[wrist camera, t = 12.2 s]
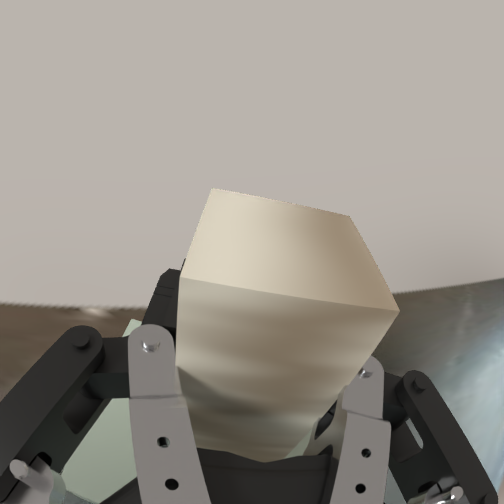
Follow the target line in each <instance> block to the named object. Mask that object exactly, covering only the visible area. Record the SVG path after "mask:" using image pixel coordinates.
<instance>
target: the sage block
mask: <svg viewBox="0 0 504 504" xmlns="http://www.w3.org/2000/svg"><path fill="white" fill-rule="evenodd" d="M141 324H142V322H141V321H137V320H134V319H131V321H130V323H129V325H128V327H127V329H126V331H125V333H124V335H123V336H122V337H124V336H128V335H130V333H131V332H132V331H133V330H134V329H135V328H137V327H139V326H141ZM312 429H313V428H312ZM312 429H311V430H310V432H309V433H308V434H307V435H306V436H305V437H304V438H303V439H302V440H301V441H300V442H299V443H298V444H297V446H296V447H295V448H294V449H293V450H292V451H291V452H290V453H289V454H288V455H287V456H286V457H285V458H284V459H286V458H290V457H295V456H302V455H303V453H304V451H305V449H306V448H307V446H308V443H309V440H310V437H311V433H312ZM61 477H62V478H63V480H64V482H65V486H66V490H67V491H69V492H70V493H72V494H74V495H76V496H77V497H79V498H81V499H84V500H86V501H88V502H91V503H93V504H99V503H101V502H102V501H104V500H105V499H106V498H108V497H109V496H111V495H112V494H114V493H115V492H116V491H118V490H119V489H121V488H122V487H123V486H125V485H126V484H127V483H129V482H130V481H131V480H133V479H134V478H135V477H137V472H136V465H135V458H134V451H133V443H132V434H131V424H130V413H129V398H117V399H112V400H111V401H110V403H109V404H108V405H107V407H106V408H105V409H104V411H103V412H102V414H101V415H100V416H99V418H98V419H97V421H96V422H95V423H94V425H93V426H92V428H91V429H90V430H89V432H88V433H87V435H86V436H85V437H84V439H83V440H82V442H81V443H80V444H79V446H78V447H77V449H76V450H75V452H74V453H73V454H72V456H71V457H70V459H69V460H68V462H67V463H66V464H65V467H64V469H63V472H62V475H61Z"/></svg>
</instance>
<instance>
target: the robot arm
mask: <svg viewBox="0 0 504 504" xmlns="http://www.w3.org/2000/svg"><path fill="white" fill-rule="evenodd" d="M185 260H186V258H185V259H184V262H183V265H182V268H181V271H180V270H174V269H168V270H167V271H166V272H165V273H163V274H162V275H161V276H160V279H159V281H158V283H157V287H156V288H155V291H154V294H153V296H152V298H151V301H150V303H149V306H148V308H147V311H146V313H145V316H144V319H143V321H142V324H141V326H139V327H137V328H135V329H134V330H133V331H132V332H131V333H130V335H128V336H124V337H117V338H102V337H101V335H100V333H99V332H98V331H97V330H96V329H94V328H92V327H89V326H82V325H81V326H75V327H73V328H70V329H69V330H67V331H66V332H65V333H64V334H63V335H62V336H61V337H60V338H59V339H58V340H57V341H56V342H55V343H54V344H53V345H52V346H51V347H50V348H49V349H48V350H47V351H46V352H45V354H44V355H43V356H42V357H41V358H40V359H39V360H38V361H37V362H36V363H35V364H34V365H33V366H32V367H31V368H30V370H29V371H28V372H27V373H26V374H25V375H24V376H23V377H22V378H21V379H20V380H19V382H18V383H17V384H16V385H15V386H14V387H13V388H12V389H11V391H10V392H9V393H8V394H7V395H6V396H5V397H4V399H3V400H2V401H1V402H0V504H63V501H64V498H65V496H66V486H65V482H64V480H63V478H62V477H61V476H60V474H59V473H60V472H61V470H62V469H63V467H64V466H65V464H66V463H67V462H68V460H69V459H70V457H71V456H72V454H73V453H74V452H75V450H76V449H77V447H78V446H79V444H80V443H81V442H82V440H83V439H84V437H85V436H86V435H87V433H88V432H89V430H90V429H91V428H92V426H93V425H94V423H95V422H96V421H97V419H98V418H99V416H100V415H101V414H102V412H103V411H104V409H105V408H106V407H107V405H108V404H109V403H110V401H111V400H112V399H117V398H129V413H130V424H131V434H132V443H133V451H134V458H135V465H136V472H137V477H135V478H134V479H133V480H131V481H130V482H129V483H127V484H126V485H125V486H123V487H122V488H121V489H119V490H118V491H116V492H115V493H114V494H112V495H111V496H109V497H108V498H106V499H105V500H104V501H102V502H101V503H99V504H385V503H384V502H383V501H384V495H385V487H386V480H387V471H388V466H389V468H390V470H391V472H392V474H393V476H394V478H395V480H396V483H397V485H398V487H399V489H400V491H401V493H402V495H403V497H404V499H405V501H406V503H407V504H498V496H497V493H496V491H495V489H494V487H493V485H492V483H491V481H490V479H489V477H488V475H487V473H486V471H485V470H484V468H483V466H482V464H481V462H480V461H479V459H478V457H477V455H476V453H475V452H474V450H473V448H472V446H471V445H470V443H469V441H468V439H467V438H466V436H465V434H464V433H463V431H462V429H461V428H460V426H459V424H458V423H457V421H456V419H455V418H454V416H453V415H452V413H451V411H450V410H449V408H448V407H447V405H446V403H445V402H444V400H443V399H442V397H441V396H440V394H439V392H438V391H437V389H436V388H435V386H434V385H433V383H432V382H431V380H430V379H429V378H428V377H427V376H426V375H425V374H424V373H422V372H420V371H416V370H412V371H409V372H407V373H406V374H405V375H404V376H403V378H402V377H398V376H395V375H392V374H389V373H386V372H384V370H383V367H382V365H381V364H380V362H379V361H378V360H377V359H376V358H374V357H373V356H371V355H370V357H369V358H368V360H367V361H366V362H365V364H364V365H363V366H362V368H361V369H360V371H359V372H358V373H357V375H356V376H355V377H354V379H353V380H352V381H351V382H350V384H349V385H345V386H344V387H343V388H342V390H341V391H340V392H339V394H338V399H337V400H336V401H335V403H334V404H333V405H332V406H331V407H330V409H329V410H328V411H327V412H326V413H325V414H324V416H323V417H322V418H318V419H317V420H316V421H315V423H314V425H313V429H312V433H311V437H310V440H309V443H308V446H307V448H306V449H305V451H304V453H303V455H302V456H295V457H290V458H286V459H281V460H276V461H271V462H259V461H256V460H252V459H249V458H246V457H243V456H240V455H236V454H233V453H230V452H227V451H219V450H211V449H204V448H197V447H196V444H195V440H194V436H193V431H192V427H191V422H190V417H189V413H188V408H187V403H186V399H185V396H184V395H183V394H182V390H181V385H180V379H179V373H178V368H177V366H175V361H176V332H177V311H178V294H179V280H180V274H181V272H182V269H183V266H184V263H185ZM409 418H410V419H411V421H412V423H413V424H414V426H415V428H416V430H417V431H418V433H419V435H420V437H421V438H422V440H423V449H421V448H420V447H419V445H418V444H417V442H416V440H415V438H414V436H413V435H412V433H411V431H410V429H409V427H408V426H407V424H406V421H407V420H408V419H409Z"/></svg>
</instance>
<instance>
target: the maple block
mask: <svg viewBox="0 0 504 504" xmlns="http://www.w3.org/2000/svg"><path fill="white" fill-rule="evenodd" d="M399 312H400V310H399V308H398V306H397V304H396V302H395V300H394V298H393V296H392V294H391V292H390V290H389V288H388V286H387V284H386V282H385V280H384V278H383V276H382V274H381V272H380V270H379V268H378V266H377V265H376V263H375V261H374V259H373V257H372V255H371V253H370V252H369V250H368V248H367V246H366V244H365V242H364V241H363V239H362V237H361V235H360V233H359V232H358V230H357V228H356V226H355V225H354V223H353V222H352V220H351V218H350V216H346V215H342V214H337V213H333V212H329V211H324V210H320V209H315V208H311V207H306V206H301V205H297V204H292V203H288V202H283V201H278V200H273V199H268V198H262V197H258V196H253V195H248V194H242V193H237V192H231V191H226V190H221V189H215V188H212V190H211V192H210V195H209V198H208V200H207V203H206V205H205V208H204V211H203V213H202V216H201V219H200V222H199V224H198V227H197V230H196V232H195V235H194V238H193V240H192V243H191V246H190V249H189V252H188V254H187V257H186V260H185V263H184V266H183V269H182V272H181V274H180V280H179V294H178V311H177V332H176V361H175V366H177V368H178V373H179V379H180V385H181V390H182V394H183V395H184V396H185V399H186V403H187V408H188V413H189V417H190V422H191V427H192V431H193V436H194V440H195V444H196V447H197V448H204V449H211V450H219V451H227V452H230V453H233V454H236V455H240V456H243V457H246V458H249V459H252V460H256V461H259V462H271V461H276V460H281V459H284V458H285V457H286V456H287V455H288V454H289V453H290V452H291V451H292V450H293V449H294V448H295V447H296V446H297V444H298V443H299V442H300V441H301V440H302V439H303V438H304V437H305V436H306V435H307V434H308V433H309V432H310V430H311V429H312V428H313V425H314V423H315V421H316V420H317V419H318V418H322V417H323V416H324V414H325V413H326V412H327V411H328V410H329V409H330V407H331V406H332V405H333V404H334V403H335V401H336V400H337V399H338V394H339V392H340V391H341V390H342V388H343V387H344V386H345V385H349V384H350V382H351V381H352V380H353V379H354V377H355V376H356V375H357V373H358V372H359V371H360V369H361V368H362V366H363V365H364V364H365V362H366V361H367V360H368V358H369V357H370V355H371V354H372V353H373V351H374V350H375V348H376V347H377V345H378V344H379V342H380V341H381V339H382V338H383V336H384V335H385V333H386V332H387V330H388V329H389V327H390V326H391V324H392V323H393V321H394V320H395V318H396V316H397V315H398V313H399Z"/></svg>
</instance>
